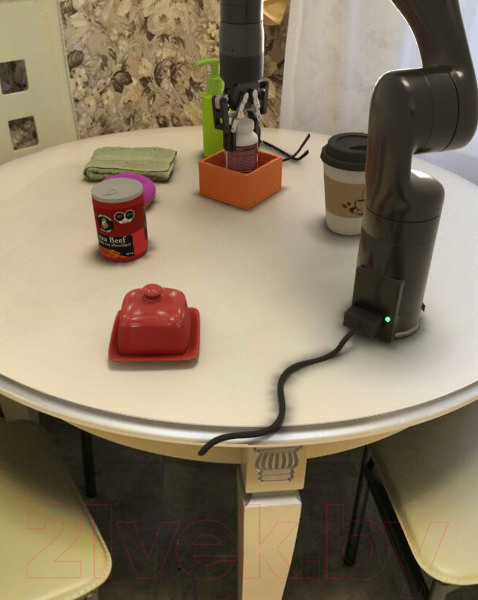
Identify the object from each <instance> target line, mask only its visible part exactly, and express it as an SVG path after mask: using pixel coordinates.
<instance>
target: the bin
mask: <svg viewBox="0 0 478 600" xmlns="http://www.w3.org/2000/svg"><path fill="white" fill-rule="evenodd" d="M282 159H284V158H283V155H278V154H276V153H275V154H274V153H272V152H267V151H264V150H260V149H258V169H256V170H254V171H252V172H250V173H249V174H243V173H240V172H237V171H233V170H230V169H227V168H225V155H224V149H223V150H221V151H219V152H217V153H215V154H213V155H211V156H209V157H207V158H205V157H203V159H201V160H199V161H198V162H197V163H198V184H199V185H198V187H199V195H201V196H204V197H207V198H209V199H212V200H216V201H219V202H222V203H225V204H227V205H231V206H233V207H237V208H239V209H242V210H244V211H245V210H246V211H249V210H251V208H253V207H255V206H256V205H259V203H261V202H263V201H264V200H266V199H267V198H269V197H270V196H272V195H275V193H277V192H279V191H281V190H282V181H283V180H282V179H283V162H282Z"/></svg>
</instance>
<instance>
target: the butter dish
mask: <svg viewBox="0 0 478 600" xmlns="http://www.w3.org/2000/svg"><path fill="white" fill-rule="evenodd" d="M200 344H201V314H200V310H199V309H198V308H197V307H192V306H189V304H188V301H187V298H186V295H185V293H184V292H183V291H181V290H180V289H176V288H171V287H163V286H161V285H160V284H159V283H148V284H145V285H144V286H143V287H138V288H134V289H130V290H129V291H128V292H126V293H125V295H124V297H123V300H122V303H121V308H120V309H119V310H118V311H117V313H116V315H115V317H114V321H113V325H112V328H111V333H110V339H109V344H108V350H107V351H108V352H107V357H108V358H109V360H111V361H113V362H122V363H123V362H127V363H128V362H185V361H192V360H196V359H197V358H198V357H199V354H200V346H201V345H200Z"/></svg>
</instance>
